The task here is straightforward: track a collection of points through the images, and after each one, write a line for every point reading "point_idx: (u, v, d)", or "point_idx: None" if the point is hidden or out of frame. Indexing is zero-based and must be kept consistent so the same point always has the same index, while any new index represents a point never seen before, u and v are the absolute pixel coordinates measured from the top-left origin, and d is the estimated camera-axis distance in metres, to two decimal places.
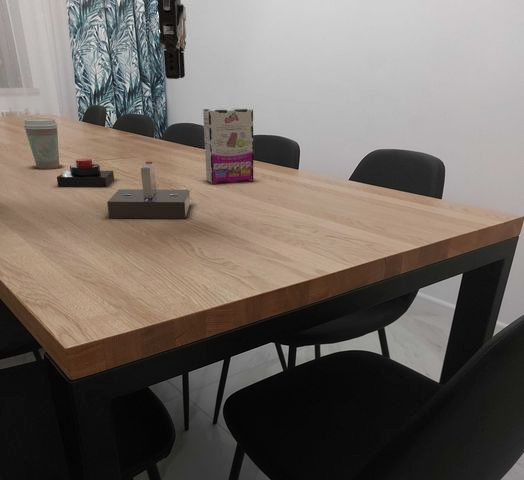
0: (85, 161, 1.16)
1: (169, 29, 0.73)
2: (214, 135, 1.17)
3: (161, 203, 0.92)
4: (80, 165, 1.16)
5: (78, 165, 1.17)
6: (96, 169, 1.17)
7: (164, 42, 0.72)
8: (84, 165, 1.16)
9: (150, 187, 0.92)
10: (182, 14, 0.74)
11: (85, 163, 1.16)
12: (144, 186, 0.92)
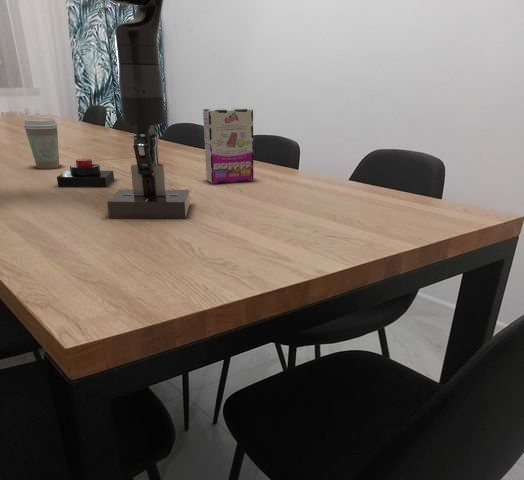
0: (85, 161, 1.16)
1: None
2: (214, 135, 1.17)
3: (161, 203, 0.92)
4: (80, 165, 1.16)
5: (78, 165, 1.17)
6: (96, 169, 1.17)
7: None
8: (84, 165, 1.16)
9: (133, 184, 0.94)
10: None
11: (85, 163, 1.16)
12: None
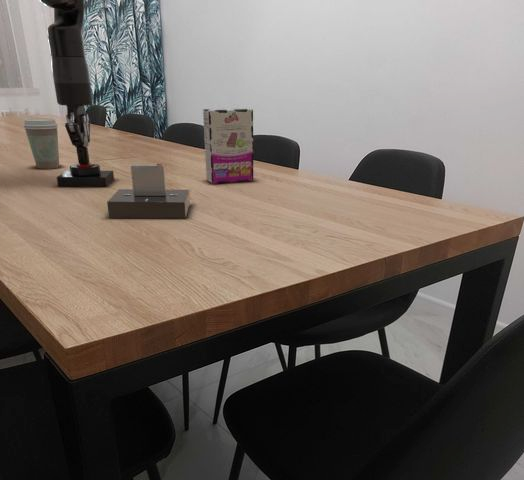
0: (86, 166, 1.17)
1: None
2: (214, 135, 1.17)
3: (161, 203, 0.92)
4: None
5: None
6: (96, 169, 1.17)
7: None
8: None
9: (133, 184, 0.94)
10: None
11: None
12: None
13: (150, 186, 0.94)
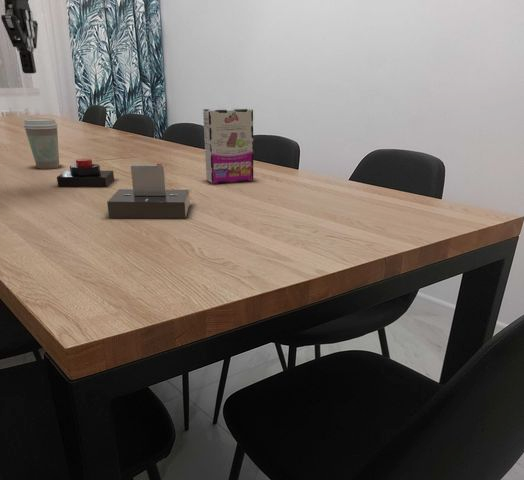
0: (85, 161, 1.16)
1: None
2: (214, 135, 1.17)
3: (161, 203, 0.92)
4: (80, 165, 1.16)
5: (78, 165, 1.17)
6: (96, 169, 1.17)
7: (33, 47, 1.02)
8: (84, 165, 1.16)
9: (133, 184, 0.94)
10: None
11: (85, 163, 1.16)
12: None
13: (150, 186, 0.94)
